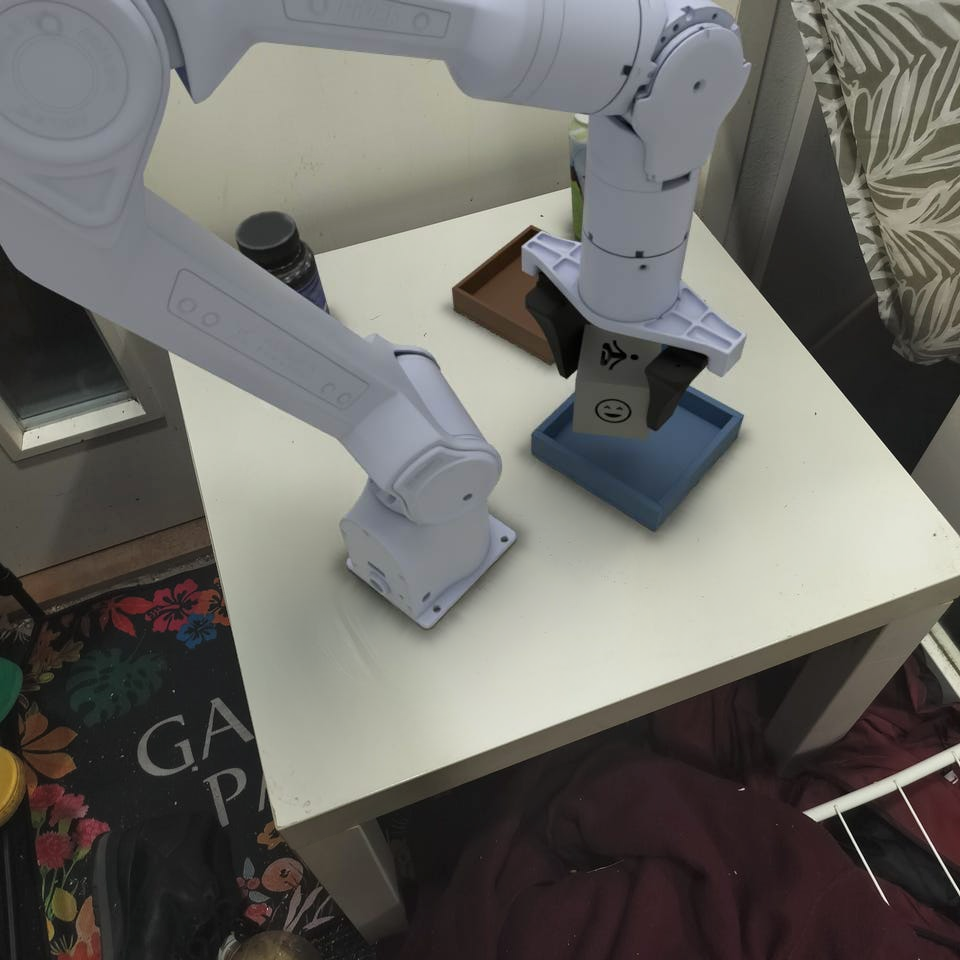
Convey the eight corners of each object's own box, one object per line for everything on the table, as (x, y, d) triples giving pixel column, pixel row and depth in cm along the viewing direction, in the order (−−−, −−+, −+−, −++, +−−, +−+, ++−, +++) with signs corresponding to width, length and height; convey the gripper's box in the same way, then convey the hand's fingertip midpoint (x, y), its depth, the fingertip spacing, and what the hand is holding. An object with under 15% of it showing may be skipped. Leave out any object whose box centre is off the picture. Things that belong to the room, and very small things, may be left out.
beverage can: (604, 266, 76) (614, 145, 66) (549, 228, 80) (552, 109, 70) (653, 235, 78) (670, 114, 69) (597, 200, 82) (606, 81, 72)
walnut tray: (550, 365, 69) (551, 343, 67) (453, 310, 74) (451, 288, 72) (627, 294, 74) (629, 272, 72) (531, 246, 78) (531, 224, 76)
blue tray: (654, 532, 59) (659, 512, 57) (530, 453, 64) (530, 433, 62) (738, 435, 64) (744, 414, 62) (617, 369, 69) (619, 347, 67)
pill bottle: (340, 311, 74) (313, 205, 65) (326, 361, 71) (296, 256, 62) (272, 309, 75) (237, 203, 66) (255, 358, 71) (215, 254, 62)
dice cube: (581, 376, 59) (585, 324, 55) (653, 384, 58) (662, 331, 54) (572, 431, 56) (575, 380, 52) (648, 440, 55) (657, 389, 51)
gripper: (796, 239, 44) (743, 411, 55) (574, 142, 50) (566, 314, 61) (722, 313, 41) (681, 478, 52) (496, 200, 47) (503, 369, 58)
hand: (615, 394), depth 56 cm, fingers closed on dice cube, 6 cm apart
